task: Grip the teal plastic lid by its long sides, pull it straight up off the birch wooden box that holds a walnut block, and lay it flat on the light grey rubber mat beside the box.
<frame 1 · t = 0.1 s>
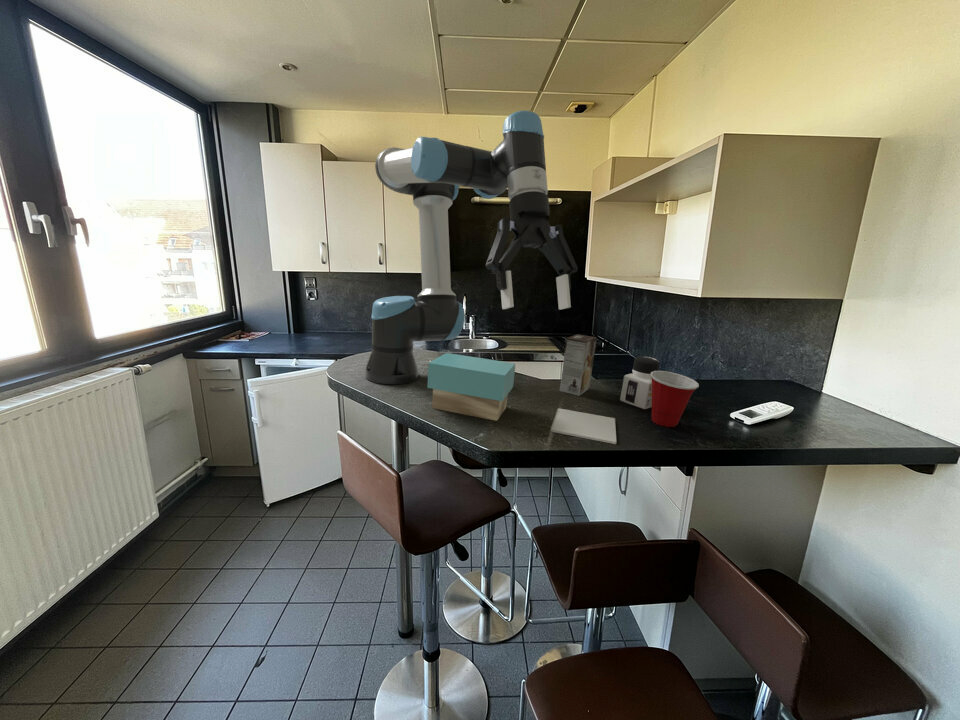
hand: (537, 308, 75), 28 cm above the table, tool tilted 20°, fingers open, 13 cm apart
container: (638, 403, 111), on the table
lid: (471, 387, 94), point 6 cm above the table, touching box
coffee box: (574, 390, 118), on the table
box: (469, 410, 96), on the table
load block: (469, 407, 96), point 1 cm above the table, touching box
plastic cup: (664, 424, 98), on the table
mat: (566, 422, 94), on the table
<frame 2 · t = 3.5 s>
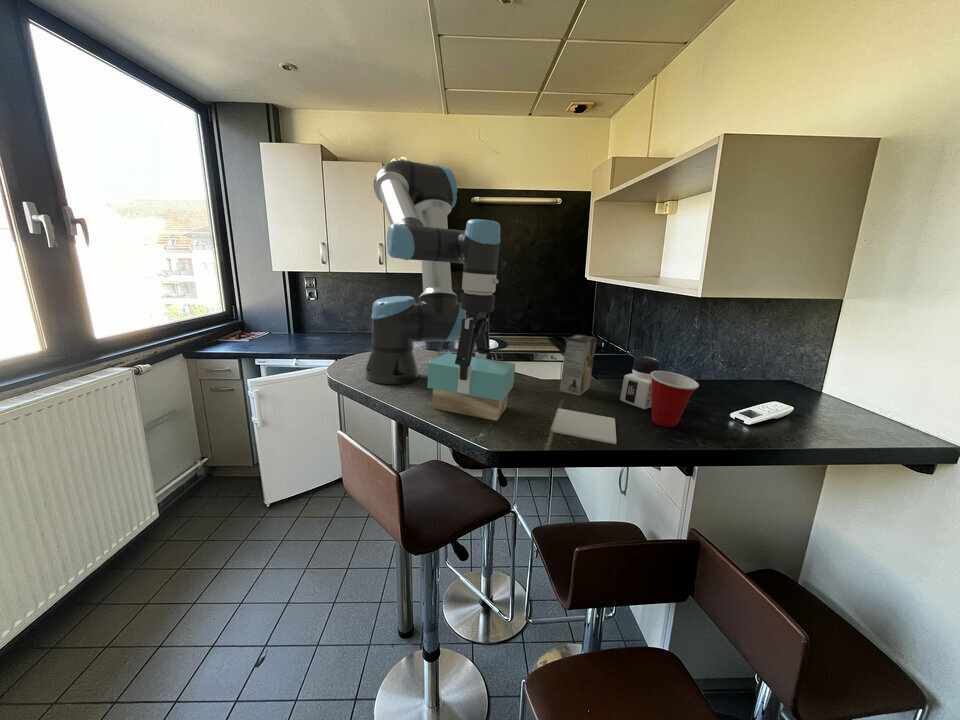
hand: (471, 385, 94), 7 cm above the table, tool pointing down, fingers closed on lid, 11 cm apart
lid: (471, 387, 94), point 6 cm above the table, touching box, gripper
everything else where it was.
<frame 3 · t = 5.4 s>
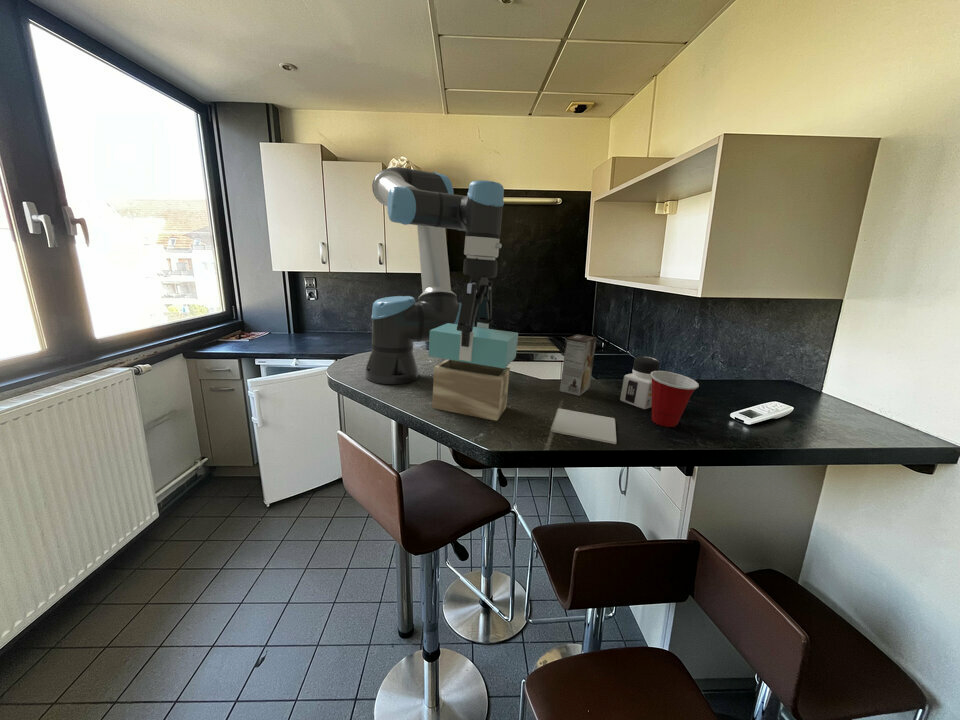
hand: (473, 354, 93), 14 cm above the table, tool pointing down, fingers closed on lid, 11 cm apart
lid: (473, 356, 93), point 14 cm above the table, touching gripper
everything else where it was.
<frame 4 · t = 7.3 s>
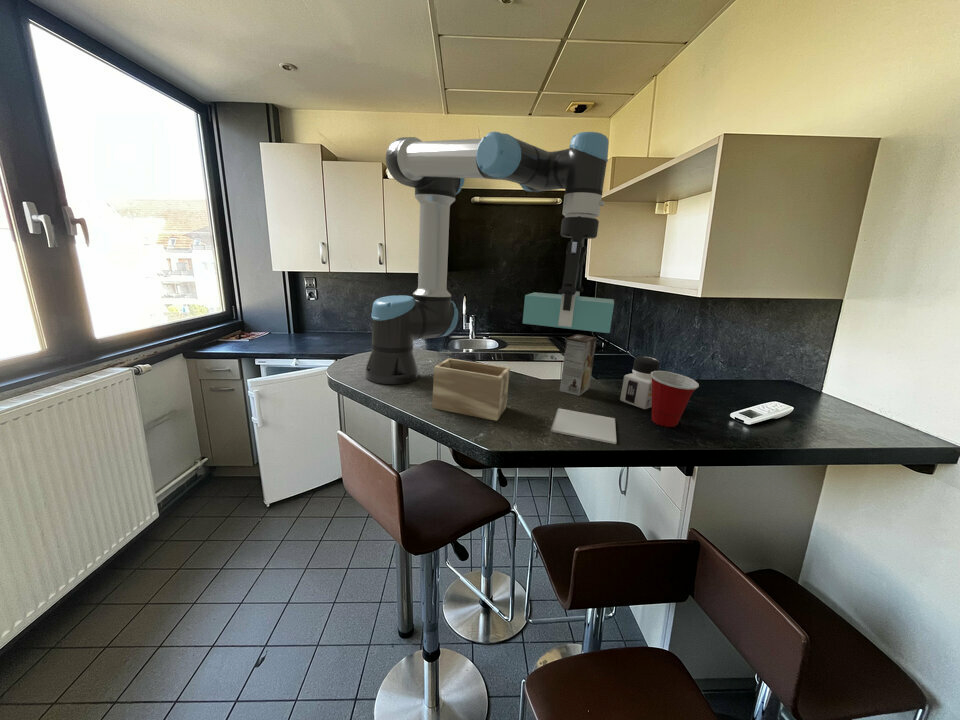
hand: (567, 322, 87), 24 cm above the table, tool pointing down, fingers closed on lid, 11 cm apart
lid: (567, 324, 87), point 23 cm above the table, touching gripper
everything else where it was.
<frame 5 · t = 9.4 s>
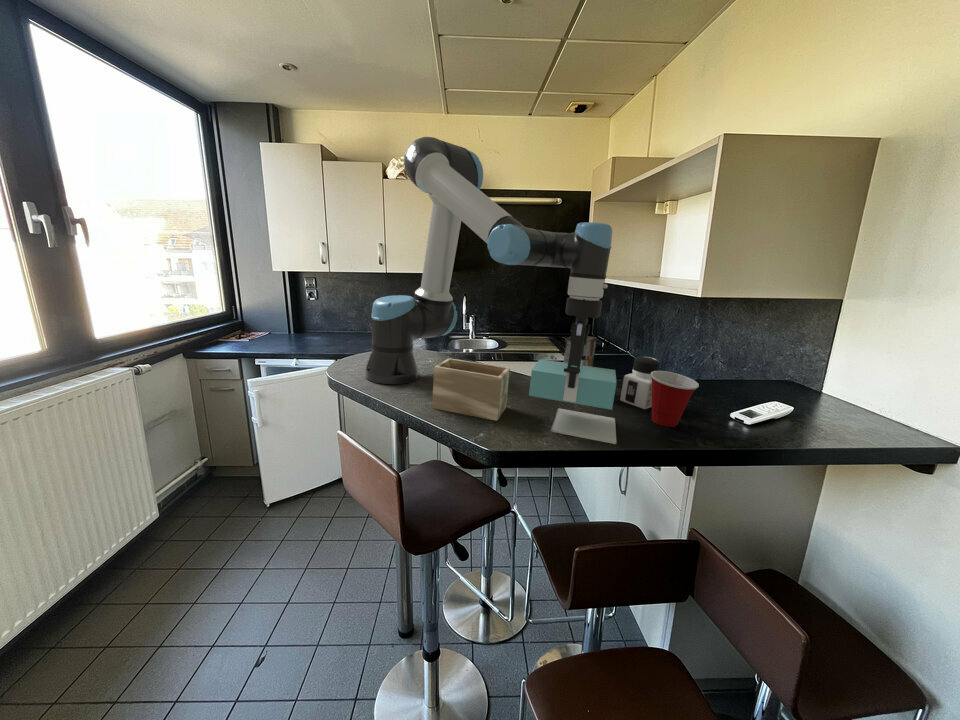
hand: (571, 392, 92), 7 cm above the table, tool pointing down, fingers closed on lid, 11 cm apart
lid: (571, 394, 92), point 7 cm above the table, touching gripper
everything else where it was.
when the fingers open (3 cm above the table, at t = 11.2 s): lid drops 2 cm, resting on mat.
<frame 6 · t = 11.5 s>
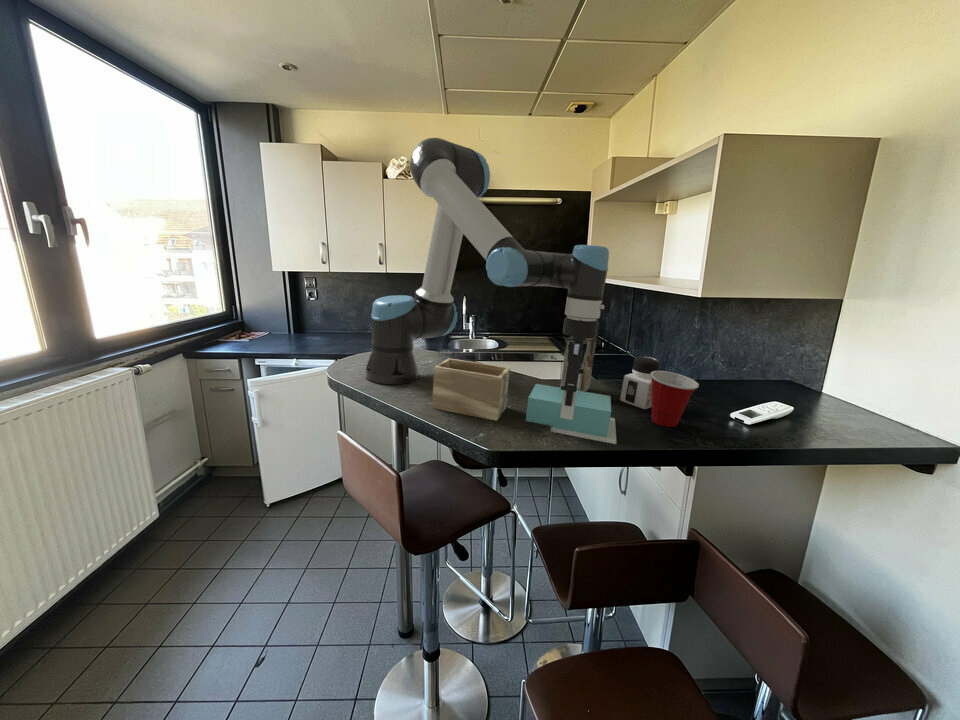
hand: (568, 407, 93), 4 cm above the table, tool pointing down, fingers open, 13 cm apart
lid: (567, 420, 93), resting on mat
everything else where it was.
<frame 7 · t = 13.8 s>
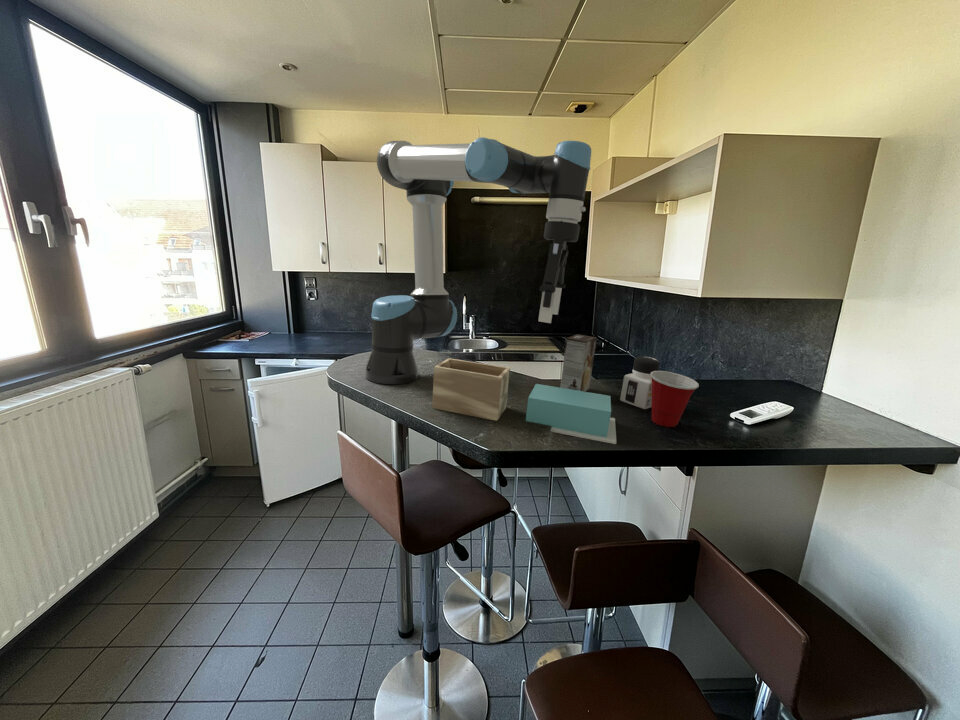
hand: (548, 317, 92), 24 cm above the table, tool pointing down, fingers open, 13 cm apart
nothing on the table moved.
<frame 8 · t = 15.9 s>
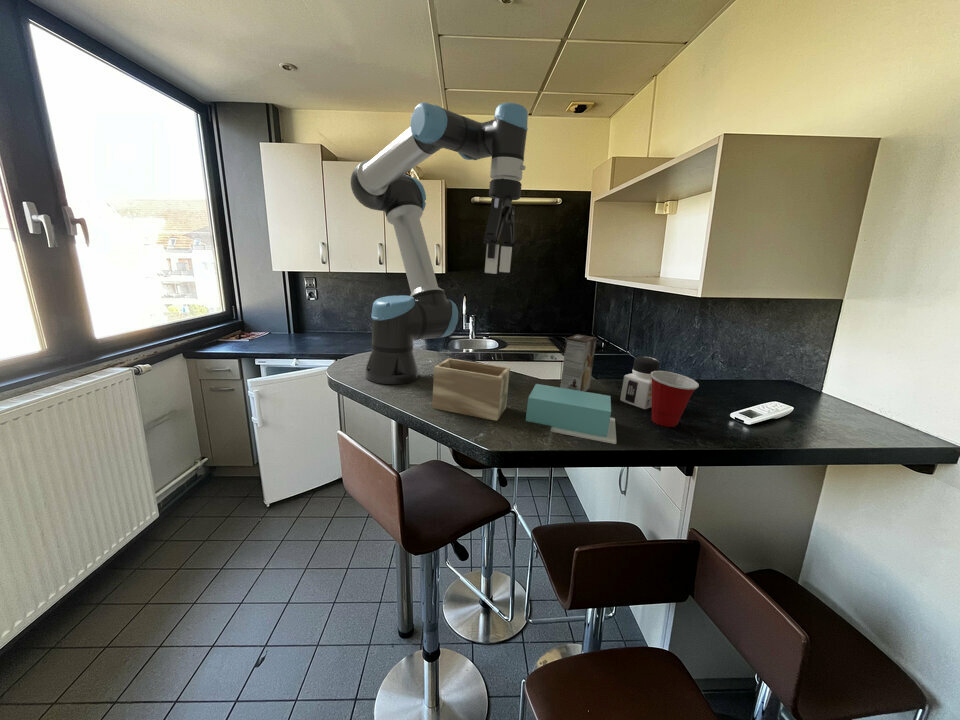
hand: (497, 272, 98), 33 cm above the table, tool pointing down, fingers open, 13 cm apart
nothing on the table moved.
at the end: lid inside the target area on the mat (0.0 cm from its centre), point 0.5 cm above the mat's base; lid tilted 0°; the gripper is holding nothing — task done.
